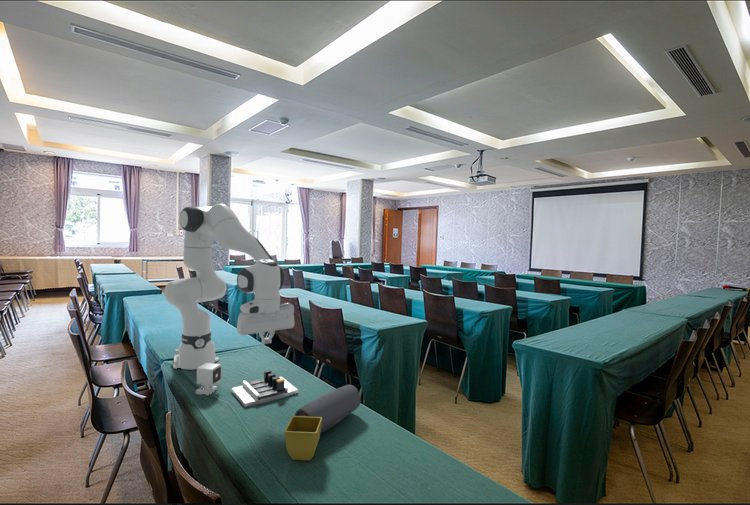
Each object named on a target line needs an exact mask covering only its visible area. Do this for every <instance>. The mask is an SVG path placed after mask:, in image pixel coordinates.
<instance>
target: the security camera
mask: <svg viewBox="0 0 750 505" xmlns="http://www.w3.org/2000/svg"><path fill="white" fill-rule="evenodd" d="M222 369H223V367H222V363H221V364H220V363H205V364H203V365H201V366H200V367H198V368H197V369H196V384H197V385H202V386H200V387H199V388H197V389H196V390H195V394H196V395H202V394H206V395H205V396H210V395H211V394H212V392H213V393H215V392H216V391H217V390H218V386H217V384H218V383H220V382H221V381H222V378H223V377H222V376H223V372H222V371H223V370H222ZM203 388H204V390H203ZM215 390H216V391H215ZM210 393H211V394H210ZM209 394H210V395H209Z"/></svg>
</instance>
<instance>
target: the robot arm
mask: <svg viewBox="0 0 750 505" xmlns="http://www.w3.org/2000/svg"><path fill="white" fill-rule="evenodd" d="M179 224H180V227H181V228H182V230H184V232H185V233H184V239H183V263H184V265H185V267H187V268H188V269H190V270H191V271H195V273H196V276H195V277H187V278H178V279H174V280H171V281H168V282H167V283H166V285H165V287H164V292H163V293H164V298H165V300H166V301H167V302H168V303H169V304H171V305H173V306H174V307H175V308H176V309H177V310H178V311H179V313H180V316H181V320H182V334H181V340H180V341H181V343H180V344H179V348H177V349H176V348H175V349H174V356H173V366H172V368H173V369H176V370H177V368H181V369H182V370H189V371H190V370H197V368H198V367H200V366H201V365H203V364H205V363H213V364H216V362H218V361H220V357H219V356H216V344H215V343H214V341H212V337H213V336H212V331H211V316H210V313H208V311H206V310H204V309H200V308H199V307H198V303H204V302H209V301H210V302H211V301H216V300H218V299H221V298H223V297H224V296H225V294H226V293H227V289H228V288H227V284H226V281H225V280H224V278H222V277H221V276H219V274H217V272H216V271H215V269H214V267H213V261H212V260H213V259H212V250H213V248H212V247H213V244H212V243H213V242H212V241H213V240H212V238H213V237H214V238H215V240H216V242H217V243H218V244H219V245H220V246H221V247H222V248H225V249H227V250H230V251H235V252H239V253H240V252H241V253H244V254H247V255H248V256H250V257H251V258H253V260H254V261H255V263H254V264H253V265H250V266H247V267H243V268H242V269H240V270H239V271H238V273H237V275H236V276H237V277H236V285H237V287H238V290H240V291H241V292H242V293H244V294H254V299H253V300H250V301H247V302H245V303H243V304H241V305H240V311H241V312H240V313H239V314H238V317H237V325H236V331H237V333H238V334H239V335H240V336H244V335H245V336H247V335H254V334H258V335H259V337H260V338H261V344H262V345H267V344H272V339H273V337H274V336H275V333H276V332H275V331H280V330H287V329H293V328H294V327H295V314H294V313H295V306H294V304H292V303H290V302H287V303H281V295H280V291H281V289H282V288H283V286H284V285H285V283H286V279H287V277H286V272H285V270H284V269H283V268H282V266H280V265H279V262H277V261H276V260H274V259H273V256H272V255H271V254H270V253H269V252H268V251H267V249H266V248H265V247H264V246H263V244H262V243H261V242H260V240H259V239H258V238H256V237H255V236H254V235H253V234H251V233H250V232H249V231H248V230H247V229H246V228H245V227H244V226H243V225H242V223H241V222H240V220H239V218H238V216H237V214H236V213H235V212H234V210H232V209H231V207H230V206H228V205H227V204H224V203H217V204H214V205H212V206H210V205H207V206H195V205H194V206H192V205H191V206H186V207H184V208H182V210H181V211H180V213H179ZM266 332H267V333H269V334H268V337H265V334H266ZM181 369H180V370H181Z"/></svg>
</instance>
